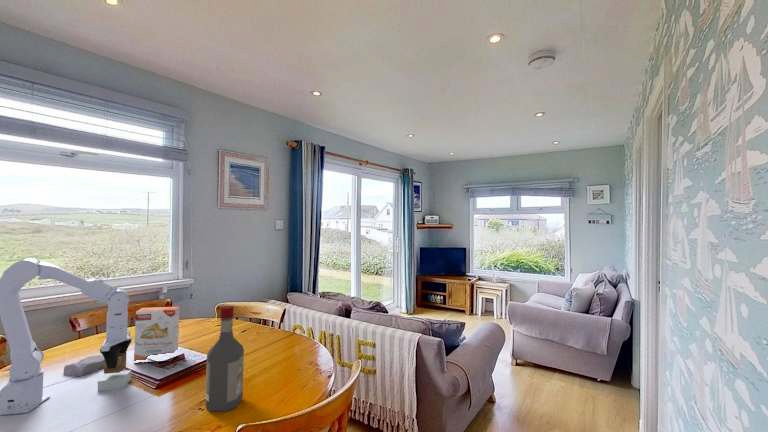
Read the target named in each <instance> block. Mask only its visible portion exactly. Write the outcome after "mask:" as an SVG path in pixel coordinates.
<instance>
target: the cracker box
mask: <svg viewBox="0 0 768 432" xmlns="http://www.w3.org/2000/svg"><path fill="white" fill-rule="evenodd" d="M179 328H180V306H163V307H161V306H158V307H141V308H140V309H138V310H136V311H135V325H134V345H133V346H134V349H133V353H134V354H133V362H134V361H136V360H146V359H147V357H148V356H150V355H158V354H166V353H174V352H175V351H176V350H178V351H179V334H180V333H179V332H180V331H179Z"/></svg>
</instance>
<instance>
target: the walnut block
mask: <svg viewBox="0 0 768 432" xmlns="http://www.w3.org/2000/svg"><path fill="white" fill-rule="evenodd" d="M127 354H128V353H127V352H126V353H119V355H118V359H117V365H116V367H115V368H111V369H108V368H107V365H106V361H105V359H104V367H103V374H104V375H105V374H108V373H119V372H121V371H124V369H126V368H127Z"/></svg>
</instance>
